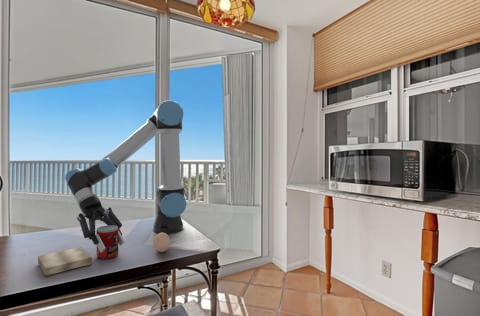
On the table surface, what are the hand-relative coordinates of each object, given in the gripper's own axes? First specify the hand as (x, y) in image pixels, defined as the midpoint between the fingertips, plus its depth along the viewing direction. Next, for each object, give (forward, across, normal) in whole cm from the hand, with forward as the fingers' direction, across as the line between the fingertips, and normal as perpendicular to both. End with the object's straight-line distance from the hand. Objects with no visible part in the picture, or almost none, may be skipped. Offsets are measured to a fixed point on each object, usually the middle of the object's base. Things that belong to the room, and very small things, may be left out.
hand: (113, 246), depth 107 cm
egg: (+11, -15, +4) cm, 19 cm away
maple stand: (-3, +13, -9) cm, 16 cm away
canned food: (+1, 0, -6) cm, 6 cm away
